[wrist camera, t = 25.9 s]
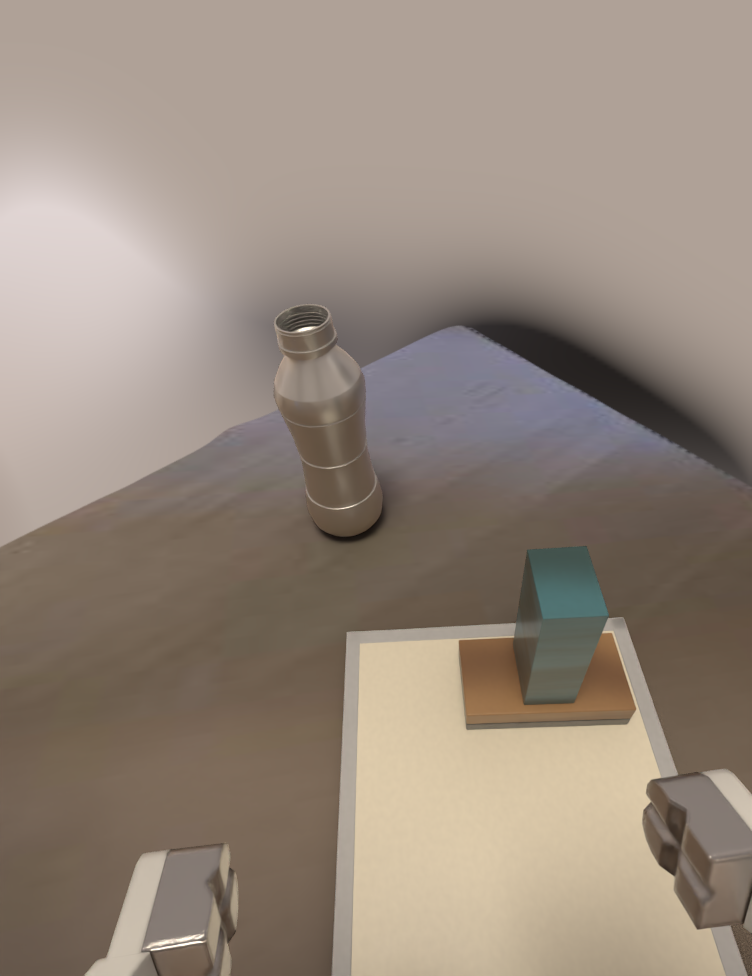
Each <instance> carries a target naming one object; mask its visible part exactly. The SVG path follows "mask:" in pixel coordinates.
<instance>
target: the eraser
mask: <svg viewBox="0 0 752 976" xmlns="http://www.w3.org/2000/svg"><path fill="white" fill-rule="evenodd" d="M608 617H609V614H608V611H607V608H606V605H605V602H604V598H603V595H602V592H601V589H600V586H599V583H598V580H597V577H596V574H595V571H594V568H593V564H592V561H591V558H590V555H589V552H588V549H587V546H580V547H564V548H548V549H532V550H527V555H526V561H525V568H524V574H523V581H522V588H521V594H520V601H519V607H518V614H517V621H516V627H515V634H514V638H493V639H472V640H459V665H460V675H461V685H462V694H463V704H464V713H465V723H466V729H467V730H474V729H504V728H534V727H564V726H595V725H625V724H628V723H629V721H630V719H631V717H632V716H633V714H634V713H635V711H636V706H635V703H634V700H633V697H632V693H631V690H630V687H629V684H628V681H627V678H626V675H625V672H624V668H623V665H622V662H621V659H620V656H619V653H618V650H617V647H616V643H615V640H614V637H613V634H612V633H602V632H603V629H604V627H605V624H606V622H607V619H608Z"/></svg>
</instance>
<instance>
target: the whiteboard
mask: <svg viewBox="0 0 752 976" xmlns="http://www.w3.org/2000/svg"><path fill="white" fill-rule="evenodd" d="M515 627H516V623H510V624H491V625H472V626H453V627H434V628H415V629H396V630H378V631H356V632H347V642H346V664H345V686H344V709H343V731H342V754H341V776H340V798H339V821H338V843H337V866H336V888H335V911H334V933H333V955H332V976H748V975H747V972H746V970H745V967H744V964H743V961H742V958H741V955H740V952H739V949H738V946H737V944H736V941H735V938H734V935H733V932H732V929H731V926H730V925H729V926H722V927H714V928H707V929H699V930H697V929H696V927H695V926H694V924H693V922H692V920H691V919H690V917H689V915H688V914H687V912H686V910H685V909H684V907H683V905H682V904H681V902H680V900H679V899H678V897H677V895H676V894H675V892H674V876H673V875H671V874H670V873H669V872H667V871H666V870H665V869H663V868H662V867H660V866H659V865H658V863H657V861H656V860H655V858H654V856H653V854H652V853H651V851H650V848H649V846H648V843H647V841H646V839H645V834H644V830H643V825H642V818H643V810H644V809H645V808H646V807H647V805H648V804H649V803H650V802H651V801H650V799H649V798H648V796H647V795H646V789H647V784H648V783H649V782H650V781H651V780H652V779H658V778H664V777H670V776H676V775H678V773H677V770H676V768H675V765H674V762H673V759H672V756H671V753H670V750H669V747H668V744H667V742H666V739H665V736H664V733H663V730H662V727H661V724H660V721H659V718H658V716H657V713H656V710H655V707H654V704H653V701H652V698H651V695H650V692H649V690H648V687H647V684H646V681H645V678H644V675H643V672H642V669H641V666H640V664H639V661H638V658H637V655H636V652H635V649H634V646H633V643H632V641H631V638H630V635H629V632H628V629H627V626H626V623H625V620H624V618H608V619H607V622H606V624H605V627H604V629H603V632H602V633H612V634H613V637H614V640H615V643H616V647H617V650H618V653H619V656H620V659H621V662H622V665H623V668H624V672H625V675H626V678H627V681H628V684H629V687H630V690H631V693H632V697H633V700H634V703H635V706H636V711H635V713H634V714H633V716H632V717H631V719H630V721H629V723H628V724H625V725H595V726H564V727H534V728H504V729H474V730H467V729H466V723H465V713H464V704H463V694H462V685H461V675H460V665H459V640H472V639H493V638H514V634H515Z"/></svg>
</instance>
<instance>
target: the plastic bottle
mask: <svg viewBox="0 0 752 976" xmlns="http://www.w3.org/2000/svg"><path fill="white" fill-rule="evenodd" d="M274 328H275V331H276V334H277V338H278V346H279V349H280V352H281V353H282V354H284V357H283V359H282V361H281V363H280V365H279V368H278V371H277V373H276V376H275V379H274V398H275V401H276V404H277V406H278V409H279V411H280V412H281V415H282V417H283V419H284V421H285V423H286V425H287V427H288V429H289V431H290V433H291V435H292V437H293V439H294V442H295V444H296V447H297V450H298V452H299V455H300V458H301V461H302V466H303V471H304V477H305V483H306V502H307V508H308V512H309V514H310V515H311V517H312V519H313V520H314V522H315V523H316V525H317V526H318V527H319V528H320V529H321V530H323V531H325V532H327V533H329V534H332V535H335V536H340V537H349V536H355V535H358V534H360V533H363V532H365V531H366V530H367V529H369V528H370V527H371V526H372V525H373V524H374V523H375V522H376V521H377V519H378V518H379V516H380V514H381V510H382V501H383V493H382V489H381V486H380V483H379V481H378V478H377V476H376V474H375V472H374V470H373V466H372V462H371V459H370V455H369V452H368V448H367V439H366V427H365V404H366V387H365V378H364V375H363V373H362V371H361V369H360V367H359V366H358V364H357V362H356V361H355V360H353V358H351V356H349V355H348V354H347V353H346V352H345V351H344V350H343V349H341V348H340V347H338V346H337V345H336V343H337V340H338V338H337V333H336V330H335V328H334V327H333V322H332V317H331V314H330V312H329V310H328V309H327V308H325V307H323V306H320V305H315V304H307V305H306V304H305V305H298V306H295V307H292V308H289V309H286V310H284V311H283V312H281V313H280V314H279V315H278V316H277V317H276V318H275V320H274Z"/></svg>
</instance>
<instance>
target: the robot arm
mask: <svg viewBox="0 0 752 976" xmlns="http://www.w3.org/2000/svg"><path fill="white" fill-rule="evenodd" d="M646 795H647V796H648V798H649V799H650V801H651V802H650V803H649V804H648V805H647V807H646V808H645V809H644V810H643V818H642V825H643V830H644V834H645V839H646V841H647V843H648V846H649V848H650V851H651V853H652V854H653V856H654V858H655V860H656V861H657V863H658V865H659V866H660V867H662V868H663V869H665V870H666V871H667V872H669V873H670V874H671V875H673V876H674V892H675V894H676V895H677V897H678V899H679V900H680V902H681V904H682V905H683V907H684V909H685V910H686V912H687V914H688V915H689V917H690V919H691V920H692V922H693V924H694V926H695V927H696V929H697V930H699V929H707V928H714V927H722V926H729V925H737V924H744V925H743V927H744V928H745V929H747V930H748V931H749V932H750V933H751V934H752V794H751V793H750V792H749V791H748V790H747V788H746V787H745V786H744V785H743V784H742V783H741V782H740V780H739V779H738V778H737V777H736V776H735V775H734V774H733V773H732V772H730V771H729V770H727V769H718V770H712V771H706V772H701V773H698V772H694V773H688V774H682V775H676V776H670V777H664V778H658V779H652V780H651V781H650V782H649V783H648V784H647V789H646ZM230 857H231V853H230V850H229V847H228V843H220V844H212V845H204V846H196V847H188V848H180V849H170V850H163V851H156V852H149V853H143V854H142V855H141V857H140V859H139V860H138V862H137V864H136V866H135V869H134V872H133V875H132V879H131V882H130V885H129V888H128V891H127V894H126V897H125V901H124V904H123V907H122V910H121V913H120V916H119V919H118V923H117V926H116V929H115V932H114V935H113V938H112V941H111V944H110V948H109V951H108V954H107V957H106V958H103V959H98V960H97V961H96V962H95V963H94V964H93V965H92V967H91V968H90V969H89V970H88V971H87V973H86V974H85V975H84V976H230V972H231V964H232V960H231V956H230V952H229V948H228V943H229V941H230V940H231V938H232V937H233V935H234V934H235V932H236V925H237V916H238V885H237V878H236V874H235V871H234V870H232V869H231V868H229V864H230Z"/></svg>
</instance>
